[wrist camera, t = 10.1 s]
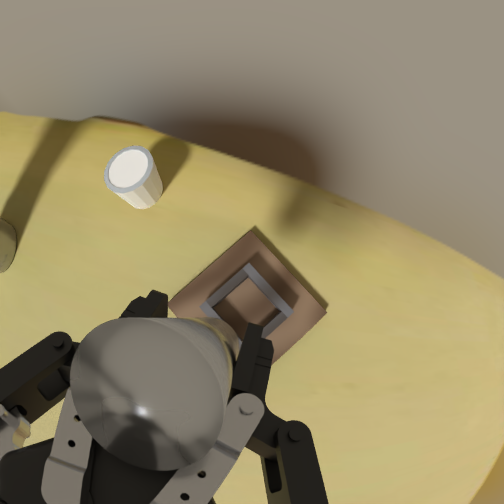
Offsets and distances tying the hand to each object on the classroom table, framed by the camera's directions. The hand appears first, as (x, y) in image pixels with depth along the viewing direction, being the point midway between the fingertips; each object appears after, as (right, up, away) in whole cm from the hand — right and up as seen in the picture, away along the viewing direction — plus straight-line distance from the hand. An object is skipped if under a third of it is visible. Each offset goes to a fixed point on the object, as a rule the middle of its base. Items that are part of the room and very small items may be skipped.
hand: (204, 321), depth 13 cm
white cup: (-13, +12, +25) cm, 31 cm away
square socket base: (+2, -4, +22) cm, 22 cm away
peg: (-1, -3, +5) cm, 6 cm away
